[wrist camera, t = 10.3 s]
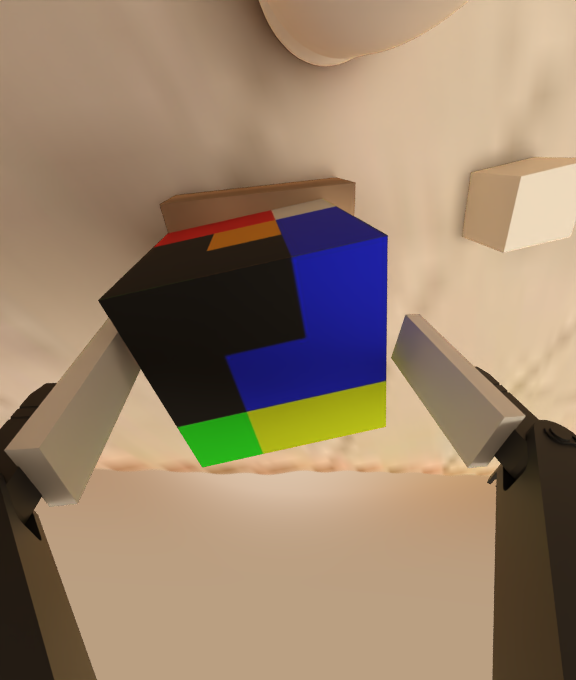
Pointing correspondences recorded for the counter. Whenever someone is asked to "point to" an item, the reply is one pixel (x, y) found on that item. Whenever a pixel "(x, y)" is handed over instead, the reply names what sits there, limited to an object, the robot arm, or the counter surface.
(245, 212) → the walnut block
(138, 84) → the counter surface
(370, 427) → the puzzle toy
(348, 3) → the jar
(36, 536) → the robot arm
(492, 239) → the beige wooden block
